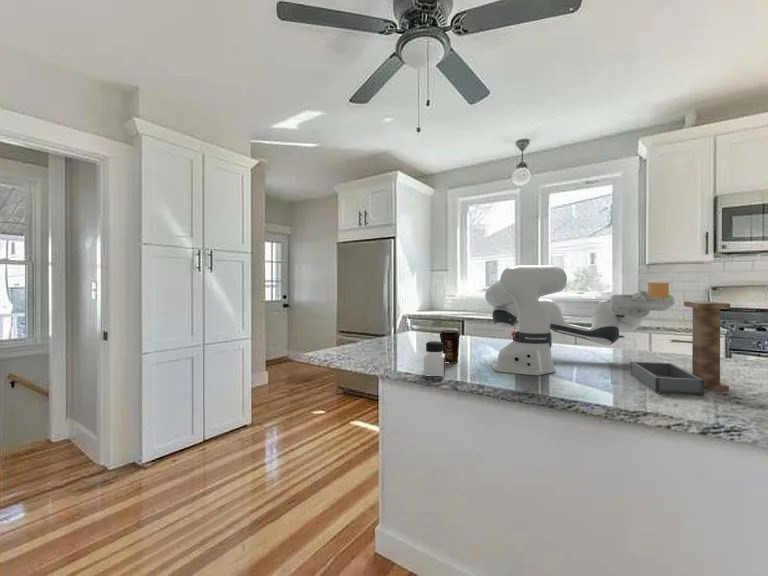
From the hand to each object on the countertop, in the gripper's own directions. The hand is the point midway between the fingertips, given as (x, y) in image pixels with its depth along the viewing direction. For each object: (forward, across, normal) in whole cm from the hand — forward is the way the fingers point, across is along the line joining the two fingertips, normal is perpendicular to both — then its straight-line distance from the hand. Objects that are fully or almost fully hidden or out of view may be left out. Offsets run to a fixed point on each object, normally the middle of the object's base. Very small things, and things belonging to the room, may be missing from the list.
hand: (647, 292), depth 140 cm
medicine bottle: (+3, +74, -36) cm, 82 cm away
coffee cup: (-16, +71, -24) cm, 76 cm away
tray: (+1, +1, -34) cm, 34 cm away
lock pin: (+2, 0, -3) cm, 4 cm away
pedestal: (+2, -10, -34) cm, 35 cm away
